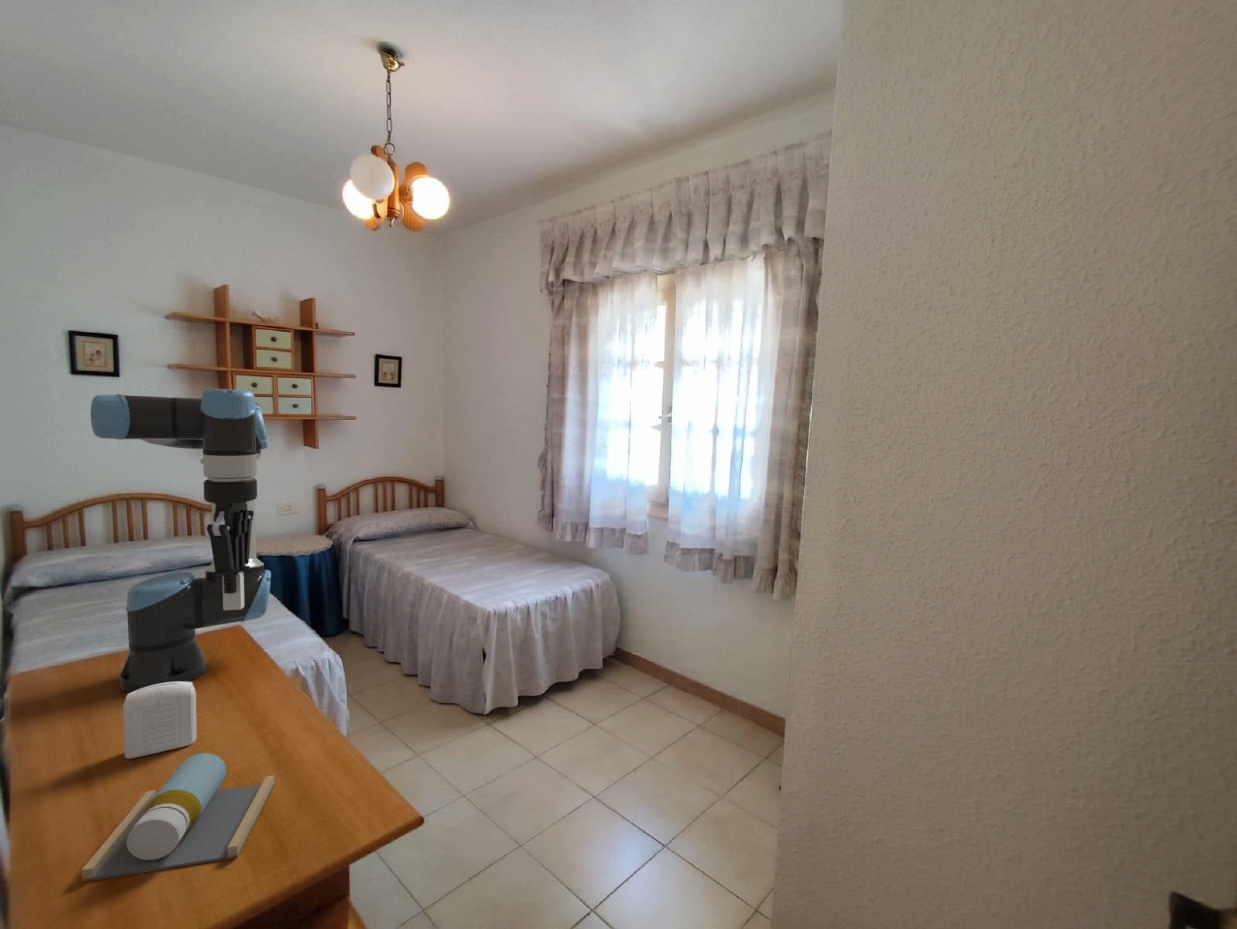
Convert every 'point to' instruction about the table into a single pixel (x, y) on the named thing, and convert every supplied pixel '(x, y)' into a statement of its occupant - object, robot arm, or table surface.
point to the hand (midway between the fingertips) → (233, 608)
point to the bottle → (177, 805)
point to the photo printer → (159, 718)
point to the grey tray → (186, 834)
